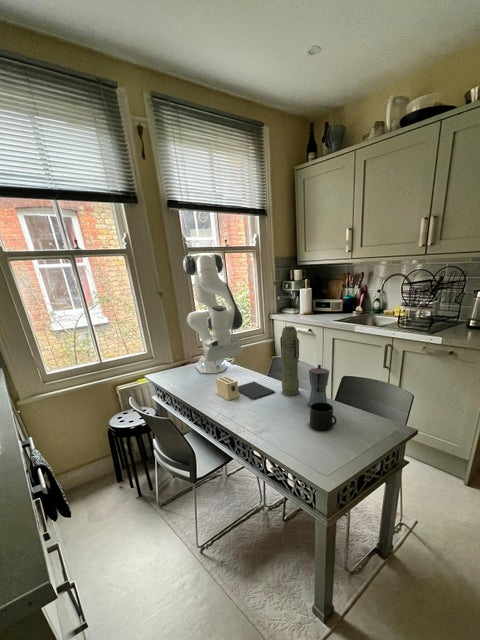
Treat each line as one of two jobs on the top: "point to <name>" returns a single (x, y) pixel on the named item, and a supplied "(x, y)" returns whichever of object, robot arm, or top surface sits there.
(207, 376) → the top surface
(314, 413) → the mug
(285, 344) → the thermos
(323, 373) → the moka pot
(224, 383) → the toaster
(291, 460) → the top surface
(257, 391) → the mat
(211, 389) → the top surface
